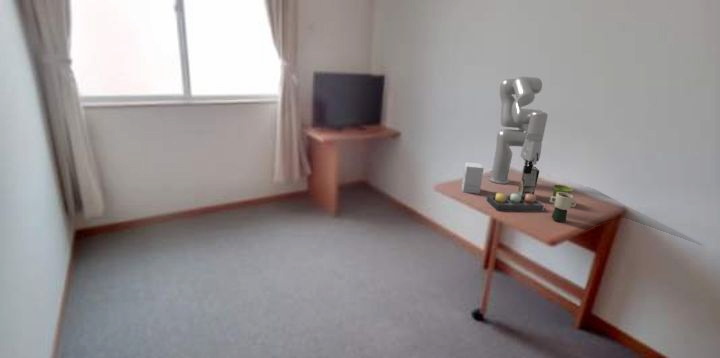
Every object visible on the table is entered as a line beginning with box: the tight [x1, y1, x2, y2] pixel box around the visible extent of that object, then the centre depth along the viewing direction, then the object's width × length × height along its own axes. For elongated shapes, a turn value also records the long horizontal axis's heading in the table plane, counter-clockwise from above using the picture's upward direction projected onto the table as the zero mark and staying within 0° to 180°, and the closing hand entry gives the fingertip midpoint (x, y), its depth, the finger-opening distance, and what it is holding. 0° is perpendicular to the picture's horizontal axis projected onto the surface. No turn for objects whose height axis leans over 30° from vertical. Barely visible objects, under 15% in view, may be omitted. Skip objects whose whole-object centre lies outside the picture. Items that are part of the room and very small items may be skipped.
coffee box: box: [517, 165, 540, 196], centre depth 203 cm, size 9×6×16 cm
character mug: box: [549, 192, 578, 223], centre depth 175 cm, size 11×7×13 cm, turn 71°
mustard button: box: [495, 192, 508, 203], centre depth 188 cm, size 5×5×4 cm
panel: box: [486, 195, 544, 212], centre depth 190 cm, size 12×24×3 cm, turn 96°
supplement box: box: [461, 161, 484, 195], centre depth 206 cm, size 9×9×15 cm
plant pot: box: [552, 184, 573, 201], centre depth 197 cm, size 9×9×9 cm
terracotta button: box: [524, 193, 537, 203], centre depth 190 cm, size 5×5×4 cm
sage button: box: [510, 192, 522, 203], centre depth 189 cm, size 5×5×4 cm
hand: (527, 173), depth 187 cm, fingers closed
